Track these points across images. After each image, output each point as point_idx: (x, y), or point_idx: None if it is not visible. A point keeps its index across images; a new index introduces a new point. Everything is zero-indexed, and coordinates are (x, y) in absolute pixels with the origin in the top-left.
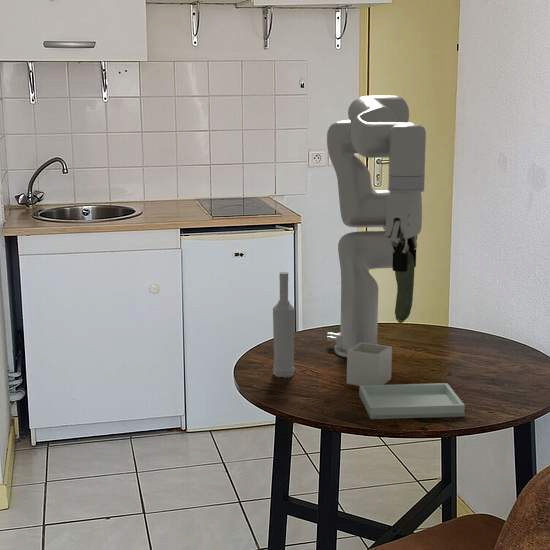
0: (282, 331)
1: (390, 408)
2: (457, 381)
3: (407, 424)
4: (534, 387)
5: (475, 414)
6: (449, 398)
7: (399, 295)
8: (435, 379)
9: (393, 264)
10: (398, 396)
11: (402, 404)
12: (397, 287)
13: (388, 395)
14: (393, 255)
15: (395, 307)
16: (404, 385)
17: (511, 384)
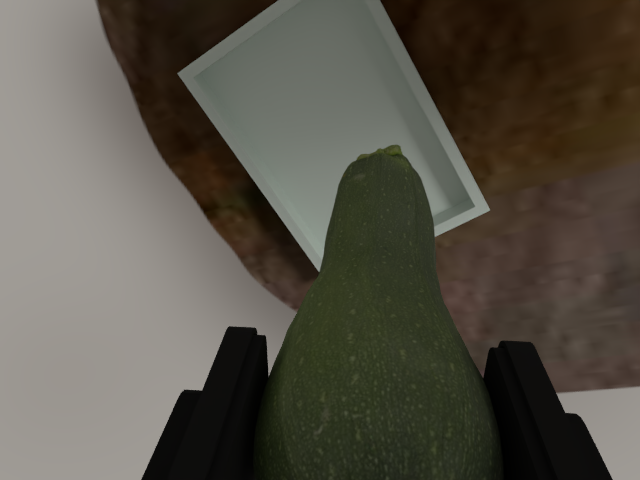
0: None
1: (214, 124)
2: (610, 196)
3: (212, 169)
4: (609, 369)
5: None
6: None
7: (328, 242)
8: (613, 131)
9: (211, 375)
10: (373, 89)
11: (314, 122)
12: (349, 245)
13: (369, 55)
14: (177, 468)
15: (365, 171)
16: (418, 98)
17: (620, 323)
